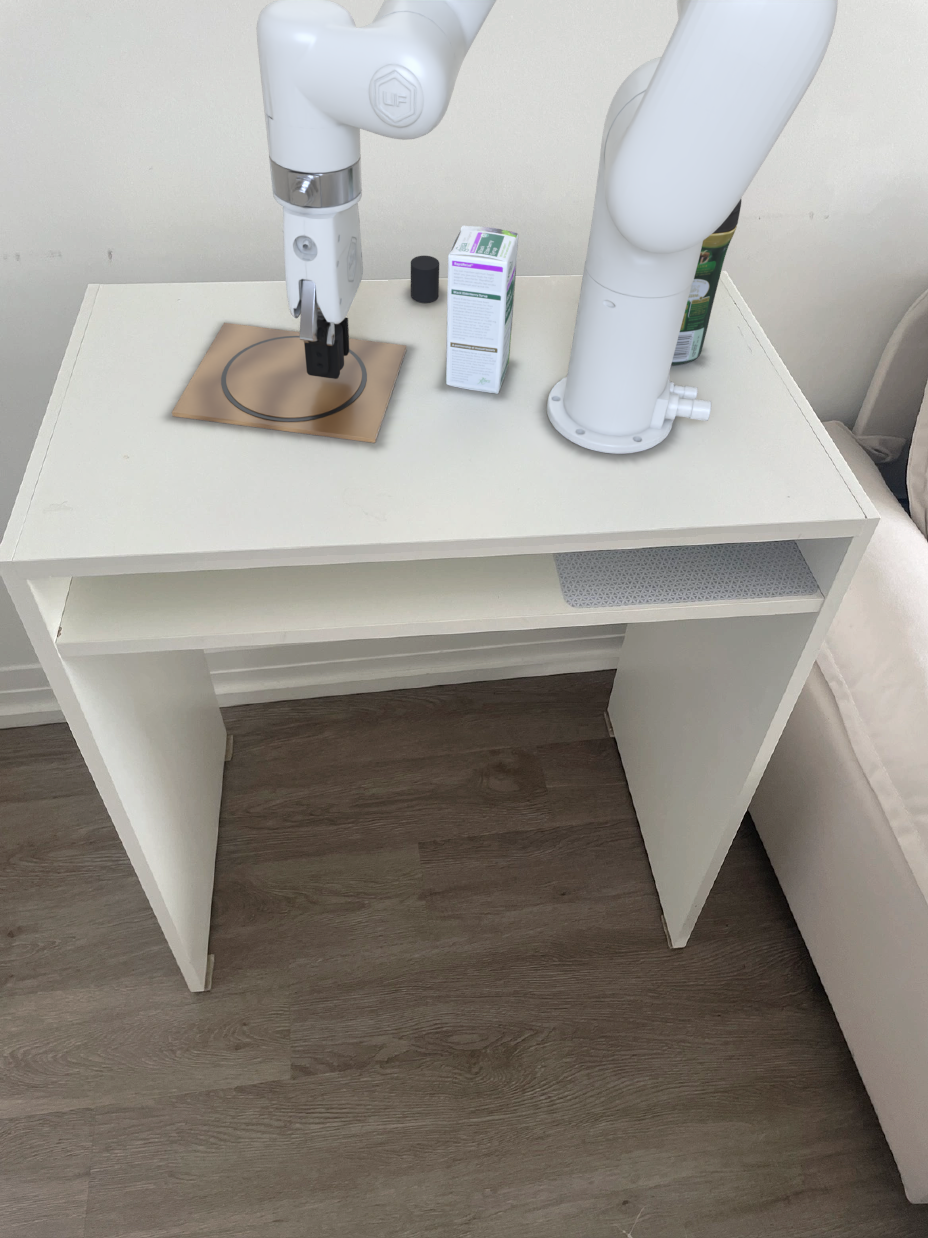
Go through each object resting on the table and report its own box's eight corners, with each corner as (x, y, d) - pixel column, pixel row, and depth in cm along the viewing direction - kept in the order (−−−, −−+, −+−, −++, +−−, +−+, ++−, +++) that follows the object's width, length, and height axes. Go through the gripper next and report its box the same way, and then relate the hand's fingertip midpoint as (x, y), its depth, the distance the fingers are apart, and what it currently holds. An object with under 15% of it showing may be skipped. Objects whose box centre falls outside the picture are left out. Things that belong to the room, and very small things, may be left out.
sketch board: (406, 349, 97) (406, 343, 96) (375, 443, 87) (374, 437, 86) (224, 326, 98) (223, 320, 98) (172, 416, 88) (170, 410, 87)
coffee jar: (614, 320, 102) (647, 149, 88) (681, 318, 103) (725, 148, 89) (636, 371, 96) (675, 196, 82) (707, 368, 97) (759, 194, 83)
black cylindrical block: (347, 357, 91) (345, 321, 88) (339, 375, 89) (338, 339, 86) (316, 352, 91) (313, 317, 88) (308, 371, 89) (305, 335, 86)
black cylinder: (440, 289, 105) (441, 257, 102) (436, 304, 103) (436, 271, 100) (413, 286, 105) (413, 253, 102) (408, 301, 103) (408, 267, 100)
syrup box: (499, 395, 92) (511, 260, 81) (443, 386, 93) (447, 251, 82) (509, 363, 96) (522, 230, 85) (454, 355, 97) (460, 221, 85)
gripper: (337, 228, 71) (346, 419, 85) (380, 141, 81) (382, 324, 95) (243, 216, 71) (268, 408, 85) (298, 130, 82) (312, 314, 96)
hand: (328, 362), depth 90 cm, fingers closed on black cylindrical block, 3 cm apart
